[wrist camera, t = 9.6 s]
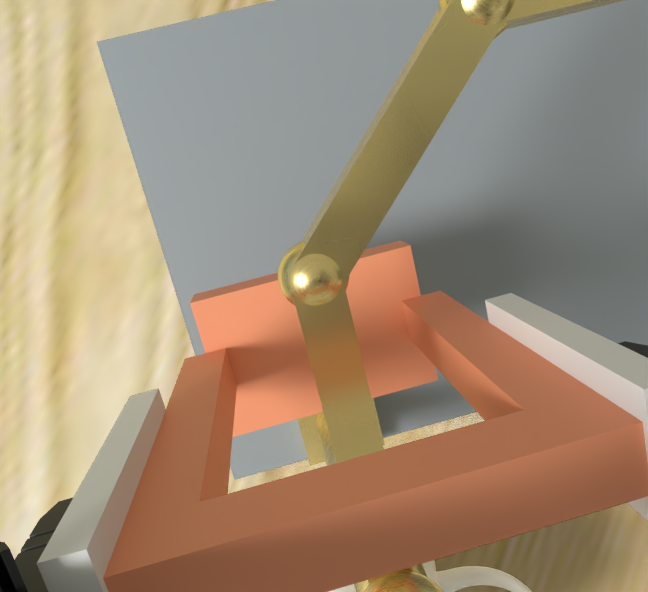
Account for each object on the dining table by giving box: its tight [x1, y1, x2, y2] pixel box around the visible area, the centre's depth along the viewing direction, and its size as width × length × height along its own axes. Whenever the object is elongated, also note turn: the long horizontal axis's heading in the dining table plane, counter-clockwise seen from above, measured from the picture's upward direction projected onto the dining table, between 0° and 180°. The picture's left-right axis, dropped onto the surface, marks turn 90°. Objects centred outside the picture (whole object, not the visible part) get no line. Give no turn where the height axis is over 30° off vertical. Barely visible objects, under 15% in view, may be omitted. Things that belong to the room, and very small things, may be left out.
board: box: [97, 0, 648, 479], centre depth 26 cm, size 25×20×1 cm
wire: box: [278, 0, 625, 592], centre depth 19 cm, size 15×17×14 cm
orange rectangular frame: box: [103, 241, 648, 592], centre depth 15 cm, size 5×9×12 cm, turn 104°
